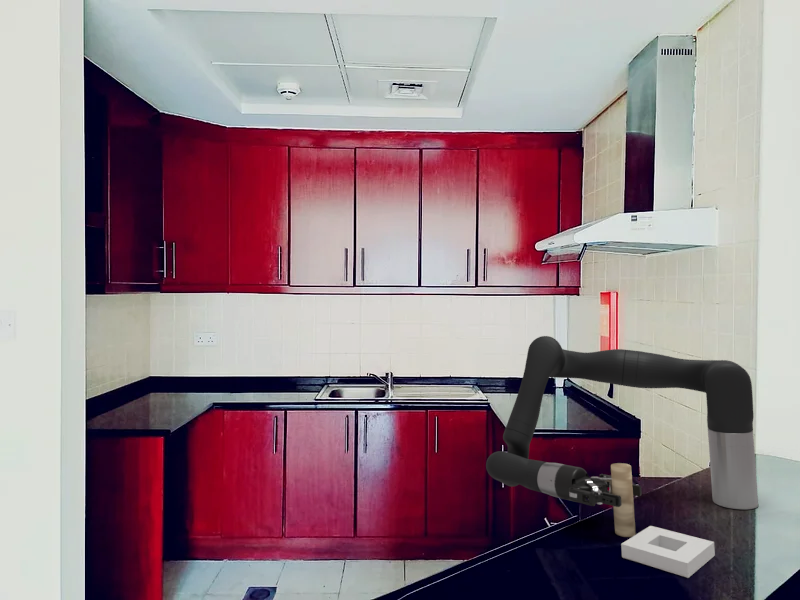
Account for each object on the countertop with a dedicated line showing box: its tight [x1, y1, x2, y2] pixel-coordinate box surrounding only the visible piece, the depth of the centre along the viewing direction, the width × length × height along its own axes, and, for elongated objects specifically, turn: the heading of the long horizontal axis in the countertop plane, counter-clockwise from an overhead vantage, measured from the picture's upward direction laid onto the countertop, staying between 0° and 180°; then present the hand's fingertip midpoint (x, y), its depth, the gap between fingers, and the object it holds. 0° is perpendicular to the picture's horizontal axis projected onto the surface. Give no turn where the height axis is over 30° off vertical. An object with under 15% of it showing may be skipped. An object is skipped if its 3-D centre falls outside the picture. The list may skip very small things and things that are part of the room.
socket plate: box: [620, 525, 716, 579], centre depth 104 cm, size 12×12×2 cm
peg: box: [610, 462, 637, 538], centre depth 115 cm, size 4×4×14 cm
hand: (630, 496), depth 114 cm, fingers open, 8 cm apart
